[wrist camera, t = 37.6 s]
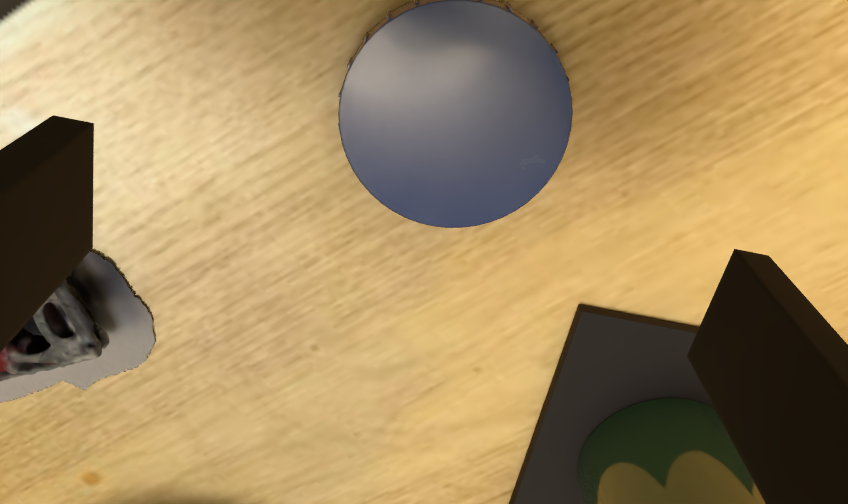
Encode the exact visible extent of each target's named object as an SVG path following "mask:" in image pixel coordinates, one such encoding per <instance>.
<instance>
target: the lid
mask: <svg viewBox="0 0 848 504" xmlns="http://www.w3.org/2000/svg"><path fill="white" fill-rule="evenodd" d="M556 53H558V52H557V50H556V49H555V48H554V46H553V45H552V44H549V43H548V41H547V40H546V39H545V38H544V36H543V35H542V34H541V33H540V31H539V30H538V26H537V25H536V24H535V22H534V21H533V20H532V21H531V22H530V21H529V20H528V19H526V18H525V17H524V16H523V15H522V14H520V13H519V12H517V11H516V10H514V9H513V8H512V7H511V5H510V4H509V3H506V4H503V3H501V2H499V1H496V0H415V1H412V2H410V3H408V4H406V5H403V6H402V7H400V8H398V9H397V10H395V11H394V12H392V13H391V11H389V12H388V14H387V17H385V18H384V19H383V20H382V21H381V22H379V23H378V24H377V25H376V26H375V27H374V29H373V30H372V31H371V32H370V33H368V32H367V33H366V34H365V36H364V39H363V42H362V44H361V45H360V47H359V48H358V50H357V52H356V54H355V56H354V58H351V59H350V61H349V63H348V65H347V68H349V69H348V72H347V74H346V77H345V80H344V83H343V86H342V88H341V91H340V93H339V97H340V102H339V124H338V125H339V130H340V135H341V140H342V145H343V148H344V151H345V154H346V157H347V159H348V161H349V163H350V165H351V167H352V169H353V171H354V173H355V174H356V176H357V177H358V179H359V180H360V182H361V183H362V184H363V185H364V186H365V188H366V189H367V190H368V191H369V192H370V193H371V194H372V195H373V196H374V197H375V198H376V199H377V200H378V201H380V202H381V203H382V204H383V205H385V206H386V207H388V208H389V209H391V210H392V211H394V212H396V213H398V214H399V215H401V216H403V217H405V218H408V219H410V220H413V221H416V222H418V223H422V224H426V225H431V226H437V227H445V228H462V227H470V226H477V225H481V224H485V223H489V222H492V221H494V220H497V219H500V218H502V217H504V216H506V215H508V214H510V213H512V212H514V211H516V210H517V209H519V208H520V207H522V206H523V205H524V204H526V203H527V202H528V201H530V200H531V199H532V198H533V197H534V196H535V195H536V194H538V193H539V191H540V190H541V189H542V188H543V187H544V186H545V185H546V184H547V182H548V181H549V180H550V178H551V177H552V175H553V174H554V172H555V171H556V169H557V167H558V165H559V164H560V162H561V160H562V158H563V155H564V153H565V150H566V147H567V144H568V140H569V136H570V131H571V124H572V98H571V92H570V87H569V83H568V81H569V79H568V77H567V76H566V74H565V71H564V68H563V66H562V64H561V62H560V60H559V58H558V56H557V54H556Z"/></svg>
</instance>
